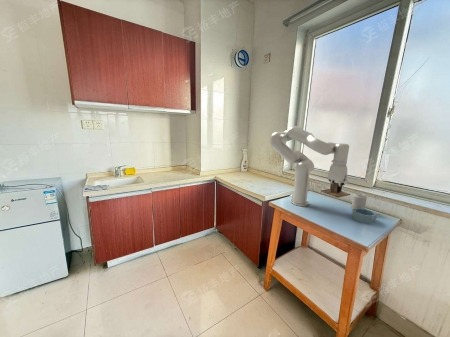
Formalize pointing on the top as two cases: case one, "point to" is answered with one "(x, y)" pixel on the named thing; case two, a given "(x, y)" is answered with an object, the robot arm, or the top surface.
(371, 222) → the bowl
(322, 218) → the top surface
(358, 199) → the can
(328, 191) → the lid
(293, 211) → the top surface
